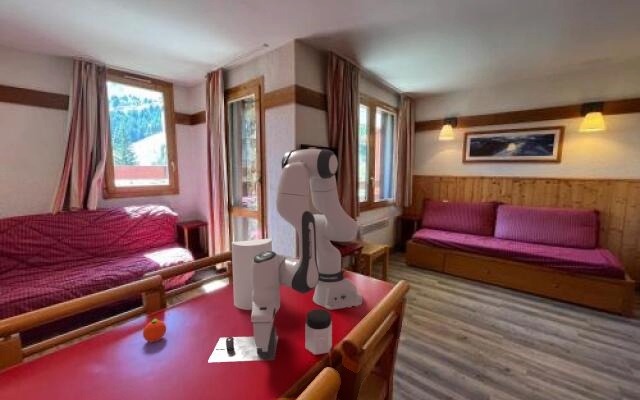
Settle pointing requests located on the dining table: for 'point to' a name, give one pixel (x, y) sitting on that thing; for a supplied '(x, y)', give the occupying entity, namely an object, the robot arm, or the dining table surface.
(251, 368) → the dining table surface
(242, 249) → the cylinder
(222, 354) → the plate
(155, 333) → the clementine
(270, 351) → the dark gray cube
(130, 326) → the dining table surface
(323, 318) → the jar
